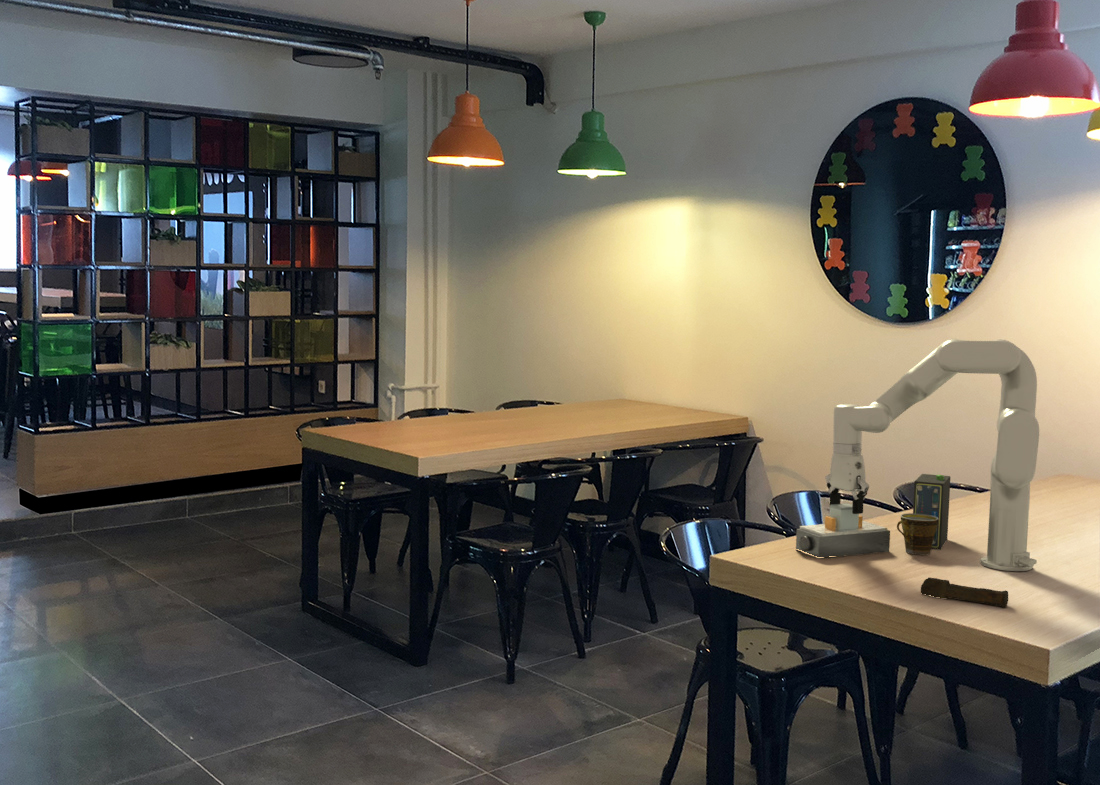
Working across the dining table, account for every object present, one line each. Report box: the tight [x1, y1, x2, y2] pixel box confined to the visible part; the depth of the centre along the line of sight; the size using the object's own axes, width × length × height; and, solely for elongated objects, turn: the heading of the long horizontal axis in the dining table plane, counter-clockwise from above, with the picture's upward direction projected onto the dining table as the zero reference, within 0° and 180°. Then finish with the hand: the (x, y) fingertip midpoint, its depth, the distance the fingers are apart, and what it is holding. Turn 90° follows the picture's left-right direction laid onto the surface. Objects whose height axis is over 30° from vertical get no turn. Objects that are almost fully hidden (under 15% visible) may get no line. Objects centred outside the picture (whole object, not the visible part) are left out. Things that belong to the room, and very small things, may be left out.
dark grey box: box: [912, 473, 951, 551], centre depth 297 cm, size 8×18×20 cm, turn 152°
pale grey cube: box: [829, 503, 860, 530], centre depth 285 cm, size 5×6×6 cm
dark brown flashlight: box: [920, 577, 1009, 609], centre depth 239 cm, size 19×4×5 cm, turn 57°
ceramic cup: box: [896, 512, 939, 556], centre depth 285 cm, size 13×10×10 cm
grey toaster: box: [795, 514, 891, 557], centre depth 285 cm, size 10×25×10 cm, turn 112°
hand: (846, 510), depth 285 cm, fingers open, 9 cm apart
